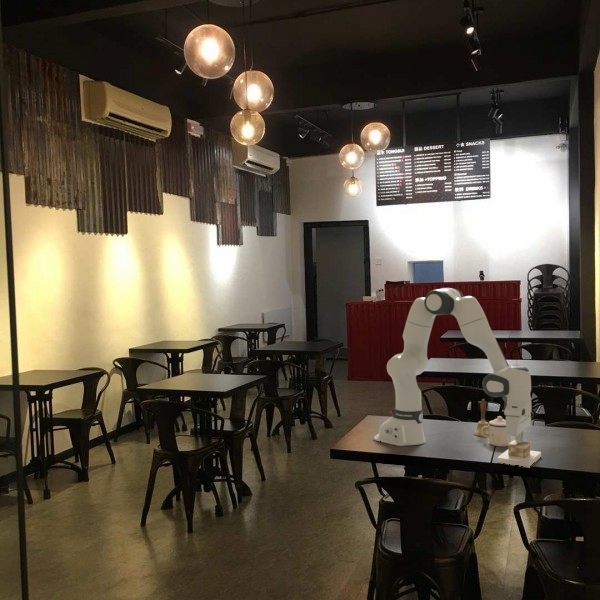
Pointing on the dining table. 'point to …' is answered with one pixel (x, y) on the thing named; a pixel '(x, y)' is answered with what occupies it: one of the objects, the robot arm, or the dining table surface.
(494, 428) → the teacup with lid
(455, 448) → the dining table surface
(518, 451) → the beige wooden block
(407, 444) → the robot arm
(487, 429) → the hand bell
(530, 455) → the post base
